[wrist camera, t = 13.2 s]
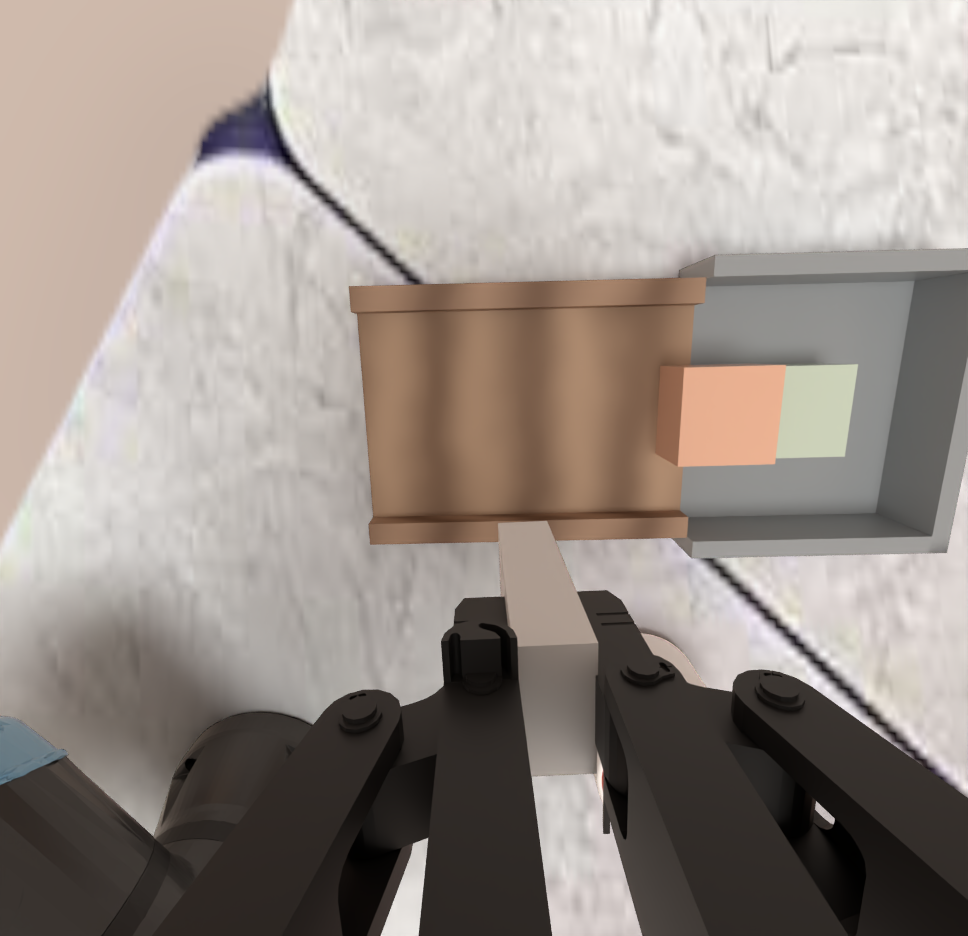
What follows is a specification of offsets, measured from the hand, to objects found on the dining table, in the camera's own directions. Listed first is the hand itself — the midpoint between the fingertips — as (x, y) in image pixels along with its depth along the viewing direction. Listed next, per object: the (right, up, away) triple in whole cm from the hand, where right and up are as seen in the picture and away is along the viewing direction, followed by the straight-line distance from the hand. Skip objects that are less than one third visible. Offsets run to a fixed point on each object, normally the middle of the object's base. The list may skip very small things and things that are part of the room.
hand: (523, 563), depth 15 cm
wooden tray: (+2, +7, +21) cm, 23 cm away
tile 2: (+14, +7, +18) cm, 24 cm away
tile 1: (+20, +7, +21) cm, 30 cm away
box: (+21, +8, +21) cm, 31 cm away
